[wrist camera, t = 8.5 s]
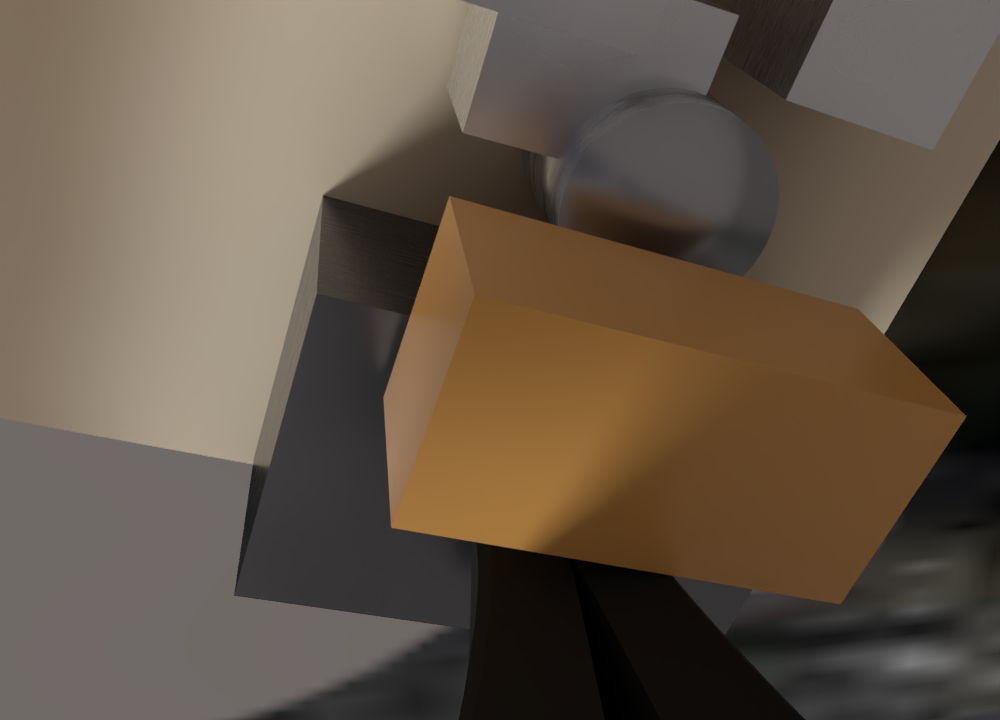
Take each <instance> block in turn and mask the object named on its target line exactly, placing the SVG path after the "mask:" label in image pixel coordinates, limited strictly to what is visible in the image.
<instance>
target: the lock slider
mask: <svg viewBox="0 0 1000 720" xmlns="http://www.w3.org/2000/svg"><path fill="white" fill-rule="evenodd" d="M383 400H384V416H385V433H386V450H387V467H388V483H389V500H390V517H391V528H395V529H401V530H407V531H413V532H419V533H425V534H431V535H436V536H442V537H448V538H454V539H460V540H466V541H472V542H478V543H483V544H489V545H495V546H501V547H507V548H513V549H519V550H525V551H530V552H536V553H542V554H548V555H554V556H560V557H566V558H572V559H577V560H583V561H589V562H595V563H601V564H607V565H613V566H619V567H625V568H630V569H636V570H642V571H648V572H654V573H660V574H666V575H672V576H677V577H683V578H689V579H695V580H701V581H707V582H713V583H719V584H724V585H730V586H736V587H742V588H748V589H754V590H760V591H766V592H771V593H777V594H783V595H789V596H795V597H801V598H807V599H813V600H818V601H824V602H830V603H836V604H841V603H842V601H843V600H844V598H845V597H846V595H847V594H848V592H849V591H850V589H851V588H852V586H853V585H854V583H855V582H856V580H857V579H858V577H859V576H860V574H861V573H862V571H863V570H864V568H865V567H866V565H867V564H868V562H869V561H870V559H871V558H872V556H873V555H874V553H875V552H876V551H877V549H878V548H879V546H880V545H881V543H882V542H883V540H884V539H885V537H886V536H887V534H888V533H889V531H890V530H891V528H892V527H893V525H894V524H895V522H896V521H897V519H898V518H899V516H900V515H901V513H902V512H903V510H904V509H905V507H906V506H907V504H908V503H909V501H910V500H911V498H912V497H913V495H914V494H915V492H916V491H917V489H918V488H919V486H920V485H921V483H922V482H923V480H924V479H925V477H926V476H927V474H928V473H929V471H930V470H931V468H932V467H933V465H934V464H935V463H936V461H937V460H938V458H939V457H940V455H941V454H942V452H943V451H944V449H945V448H946V446H947V445H948V443H949V442H950V440H951V439H952V437H953V436H954V434H955V433H956V431H957V430H958V428H959V427H960V425H961V424H962V422H963V421H964V419H965V418H966V416H965V415H964V414H963V413H962V412H961V411H960V410H959V409H958V408H957V407H956V406H955V405H954V404H953V403H952V402H951V401H950V400H949V399H948V398H947V397H946V396H945V395H944V394H943V393H942V392H941V391H940V390H939V389H938V388H937V387H936V386H935V385H934V384H933V383H932V382H931V381H930V380H929V379H928V378H927V377H926V376H925V375H924V374H923V373H922V372H921V371H920V370H919V369H918V368H917V367H916V366H915V365H914V364H913V363H912V362H911V361H910V360H909V359H908V358H907V357H906V356H905V355H904V354H903V353H902V352H901V351H900V350H899V349H898V348H897V347H896V346H895V345H894V344H893V343H892V342H891V341H890V340H889V339H888V338H887V337H886V336H885V335H884V334H883V333H882V332H881V331H880V330H879V329H878V328H877V327H876V326H875V325H874V324H873V323H872V322H871V321H870V320H869V319H868V318H867V317H866V316H865V315H864V314H863V313H862V312H861V311H860V310H859V309H857V308H853V307H849V306H846V305H842V304H838V303H835V302H831V301H828V300H824V299H820V298H817V297H813V296H809V295H806V294H802V293H799V292H795V291H791V290H788V289H784V288H781V287H777V286H773V285H770V284H766V283H762V282H759V281H755V280H752V279H748V278H744V277H741V276H737V275H734V274H730V273H726V272H723V271H719V270H715V269H712V268H708V267H705V266H701V265H697V264H694V263H690V262H686V261H683V260H679V259H676V258H672V257H668V256H665V255H661V254H658V253H654V252H650V251H647V250H643V249H639V248H636V247H632V246H629V245H625V244H621V243H618V242H614V241H611V240H607V239H603V238H600V237H596V236H592V235H589V234H585V233H582V232H578V231H574V230H571V229H567V228H563V227H560V226H556V225H553V224H549V223H545V222H542V221H538V220H535V219H531V218H527V217H524V216H520V215H516V214H513V213H509V212H506V211H502V210H498V209H495V208H491V207H488V206H484V205H480V204H477V203H473V202H469V201H466V200H462V199H459V198H455V197H451V196H449V199H448V202H447V205H446V208H445V211H444V214H443V217H442V220H441V223H440V226H439V229H438V232H437V235H436V238H435V241H434V245H433V248H432V251H431V254H430V257H429V260H428V263H427V266H426V269H425V272H424V275H423V278H422V281H421V284H420V287H419V290H418V293H417V296H416V299H415V302H414V306H413V309H412V312H411V315H410V318H409V321H408V324H407V327H406V330H405V333H404V336H403V339H402V342H401V345H400V348H399V351H398V354H397V357H396V360H395V363H394V367H393V370H392V373H391V376H390V379H389V382H388V385H387V388H386V391H385V394H384V397H383Z"/></svg>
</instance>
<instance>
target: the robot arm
mask: <svg viewBox="0 0 1000 720" xmlns="http://www.w3.org/2000/svg"><path fill="white" fill-rule="evenodd" d="M459 720H805V719H804V718H803V717H802V716H801V715H800V714H799V713H798V712H797V711H796V710H795V709H794V708H793V707H792V706H791V705H790V704H789V703H788V702H787V701H786V700H785V699H784V698H783V697H782V696H781V695H780V694H779V693H778V691H777V690H776V689H775V688H774V687H773V686H772V685H771V684H770V683H769V682H768V681H767V680H766V679H765V678H764V677H763V676H762V675H761V674H760V673H759V671H758V670H757V669H756V668H755V667H754V666H753V665H752V664H751V663H750V662H749V661H748V660H747V659H746V658H745V656H744V655H743V654H742V653H741V652H740V651H739V650H738V649H737V648H736V647H735V646H734V645H733V644H732V643H731V641H730V640H729V639H728V638H727V637H726V636H725V635H724V634H723V633H722V632H721V631H720V630H719V628H718V627H717V626H716V625H715V624H714V623H713V622H712V621H711V619H710V618H709V617H708V616H707V615H706V614H705V613H704V612H703V610H702V609H701V608H700V607H699V606H698V605H697V604H696V602H695V601H694V600H693V599H692V598H691V597H690V595H689V594H688V593H687V592H686V591H685V590H684V589H683V587H682V586H681V585H680V584H679V583H678V582H677V580H676V579H675V578H674V577H673V576H672V575H666V574H660V573H654V572H648V571H642V570H636V569H630V568H625V567H619V566H613V565H607V564H601V563H595V562H589V561H583V560H577V559H572V558H566V557H560V556H554V555H548V554H542V553H536V552H530V551H525V550H519V549H513V548H507V547H501V546H495V545H489V544H483V543H478V542H472V570H471V609H470V648H469V666H468V672H467V679H466V685H465V692H464V697H463V702H462V707H461V712H460V716H459Z"/></svg>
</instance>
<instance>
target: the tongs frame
mask: <svg viewBox="0 0 1000 720" xmlns="http://www.w3.org/2000/svg"><path fill="white" fill-rule="evenodd" d="M728 10H730V11H732V12H734V13H736V14H738V15H739V17H738V20H737V22H736V25H735V27H734V29H733V32H732V34H731V37H730V39H729V42H728V44H727V46H726V49H725V51H724V54H723V56H722V57H723V58H725V59H726V60H728V61H729V62H731V63H732V64H733V65H735V66H736V67H738V68H739V69H741V70H742V71H744V72H745V73H747V74H748V75H750V76H751V77H753V78H754V79H756V80H757V81H758V82H760V83H761V84H763V85H764V86H766V87H767V88H769V89H770V90H772V91H773V92H775V93H776V94H778V95H779V96H781V97H782V98H783V99H785V100H787V101H790V102H793V103H796V104H799V105H802V106H805V107H808V108H810V109H813V110H816V111H819V112H822V113H825V114H828V115H831V116H834V117H837V118H840V119H843V120H846V121H848V122H851V123H854V124H857V125H860V126H863V127H866V128H869V129H872V130H875V131H878V132H881V133H884V134H886V135H889V136H892V137H895V138H898V139H901V140H904V141H907V142H910V143H913V144H916V145H919V146H922V147H924V148H927V149H930V150H934V148H935V146H936V144H937V142H938V141H939V139H940V137H941V135H942V134H943V132H944V130H945V128H946V126H947V125H948V123H949V121H950V119H951V118H952V116H953V114H954V112H955V111H956V109H957V107H958V105H959V103H960V102H961V100H962V98H963V96H964V95H965V93H966V91H967V89H968V87H969V86H970V84H971V82H972V80H973V79H974V77H975V75H976V73H977V72H978V70H979V68H980V66H981V64H982V63H983V61H984V59H985V57H986V56H987V54H988V52H989V50H990V48H991V47H992V45H993V43H994V41H995V40H996V38H997V36H998V34H999V32H1000V0H732V1H731V3H730V6H729V8H728ZM438 229H439V226H437V225H433V224H430V223H426V222H422V221H418V220H415V219H411V218H407V217H403V216H399V215H396V214H392V213H388V212H384V211H381V210H377V209H373V208H369V207H366V206H362V205H358V204H354V203H351V202H347V201H343V200H339V199H336V198H332V197H328V196H324V195H323V196H322V200H321V204H320V208H319V212H318V215H317V219H316V223H315V227H314V231H313V234H312V238H311V242H310V246H309V250H308V254H307V257H306V261H305V265H304V269H303V273H302V276H301V280H300V284H299V288H298V292H297V295H296V299H295V303H294V307H293V311H292V314H291V318H290V322H289V326H288V330H287V334H286V337H285V341H284V345H283V349H282V353H281V356H280V360H279V364H278V368H277V372H276V375H275V379H274V383H273V387H272V391H271V394H270V398H269V402H268V406H267V410H266V413H265V417H264V421H263V425H262V429H261V433H260V436H259V440H258V444H257V448H256V452H255V455H254V460H253V467H252V474H251V481H250V489H249V495H248V502H247V509H246V516H245V523H244V530H243V538H242V544H241V552H240V559H239V565H238V572H237V579H236V586H235V593H234V595H235V596H241V597H248V598H255V599H262V600H269V601H276V602H284V603H290V604H297V605H304V606H311V607H319V608H326V609H332V610H339V611H346V612H353V613H360V614H368V615H375V616H381V617H389V618H395V619H402V620H409V621H417V622H423V623H430V624H437V625H444V626H451V627H458V628H465V629H470V609H471V570H472V541H466V540H460V539H454V538H448V537H442V536H436V535H431V534H425V533H419V532H413V531H407V530H401V529H395V528H391V517H390V500H389V483H388V467H387V450H386V433H385V416H384V400H383V397H384V394H385V391H386V388H387V385H388V382H389V379H390V376H391V373H392V370H393V367H394V363H395V360H396V357H397V354H398V351H399V348H400V345H401V342H402V339H403V336H404V333H405V330H406V327H407V324H408V321H409V318H410V315H411V312H412V309H413V306H414V302H415V299H416V296H417V293H418V290H419V287H420V284H421V281H422V278H423V275H424V272H425V269H426V266H427V263H428V260H429V257H430V254H431V251H432V248H433V245H434V241H435V238H436V235H437V232H438ZM673 577H674V578H675V579H676V580H677V582H678V583H679V584H680V585H681V586H682V587H683V589H684V590H685V591H686V592H687V593H688V594H689V595H690V597H691V598H692V599H693V600H694V601H695V602H696V604H697V605H698V606H699V607H700V608H701V609H702V610H703V612H704V613H705V614H706V615H707V616H708V617H709V618H710V619H711V621H712V622H713V623H714V624H715V625H716V626H717V627H718V628H719V630H720V631H721V632H722V633H723V634H724V635H725V634H726V632H727V630H728V629H729V627H730V625H731V624H732V622H733V621H734V619H735V617H736V616H737V614H738V612H739V611H740V609H741V607H742V606H743V604H744V602H745V601H746V599H747V597H748V596H749V594H750V593H751V591H752V589H748V588H742V587H736V586H730V585H724V584H719V583H713V582H707V581H701V580H695V579H689V578H683V577H677V576H673Z"/></svg>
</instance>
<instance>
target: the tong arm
mask: <svg viewBox="0 0 1000 720" xmlns="http://www.w3.org/2000/svg"><path fill="white" fill-rule="evenodd" d="M461 1H464V2H467V3H470V4H469V7H468V11H467V14H466V18H465V21H464V25H463V28H462V32H461V35H460V39H459V43H458V46H457V50H456V53H455V57H454V60H453V64H452V67H451V71H450V74H449V78H448V81H447V85H446V87H447V89H448V92H449V95H450V98H451V101H452V104H453V107H454V110H455V112H456V115H457V118H458V121H459V124H460V127H461V130H462V133H465V134H468V135H472V136H476V137H479V138H483V139H487V140H490V141H494V142H498V143H502V144H505V145H509V146H513V147H516V148H520V149H521V155H522V162H523V167H524V171H525V174H526V178H527V180H528V182H529V184H530V187H531V189H532V191H533V193H534V195H535V197H536V199H537V201H538V204H539V206H540V208H541V210H542V212H543V214H544V216H545V218H546V220H547V223H549V224H553V225H556V226H560V227H563V228H567V229H571V230H574V231H578V232H582V233H585V234H589V235H592V236H596V237H600V238H603V239H607V240H611V241H614V242H618V243H621V244H625V245H629V246H632V247H636V248H639V249H643V250H647V251H650V252H654V253H658V254H661V255H665V256H668V257H672V258H676V259H679V260H683V261H686V262H690V263H694V264H697V265H701V266H705V267H708V268H712V269H715V270H719V271H723V272H726V273H730V274H734V275H737V276H741V277H743V276H744V275H745V274H746V273H747V272H748V270H749V269H750V268H751V267H752V266H753V265H754V263H755V262H756V260H757V259H758V257H759V256H760V255H761V253H762V251H763V249H764V248H765V246H766V244H767V242H768V240H769V237H770V235H771V232H772V230H773V227H774V223H775V220H776V216H777V210H778V203H779V185H778V178H777V172H776V169H775V165H774V162H773V159H772V157H771V155H770V153H769V151H768V149H767V147H766V146H765V144H764V143H763V141H762V139H761V138H760V137H759V136H758V135H757V134H756V132H755V131H754V130H753V129H752V128H751V127H750V126H748V125H747V124H746V123H745V122H743V121H742V120H741V119H740V118H738V117H737V116H736V115H735V114H734V113H732V112H731V111H730V110H729V109H727V108H726V107H725V106H724V105H722V104H721V103H720V102H719V101H717V100H716V99H715V98H714V97H712V96H711V95H710V94H709V93H708V90H709V88H710V85H711V83H712V80H713V78H714V75H715V73H716V71H717V68H718V66H719V63H720V61H721V59H722V56H723V54H724V51H725V49H726V46H727V44H728V42H729V39H730V37H731V34H732V32H733V29H734V27H735V25H736V22H737V20H738V17H739V15H738V14H736V13H734V12H732V11H730V10H728V9H727V8H725V7H723V6H721V5H719V4H717V3H716V2H714V1H712V0H461Z"/></svg>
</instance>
